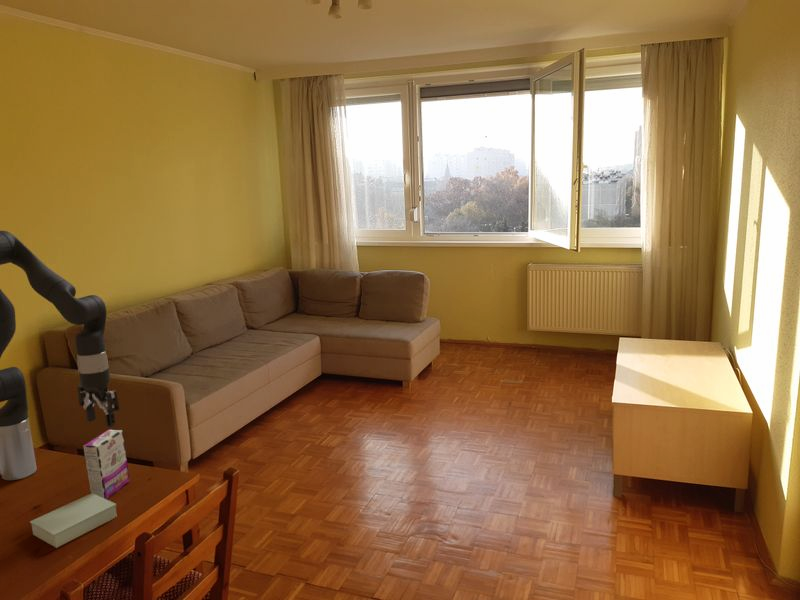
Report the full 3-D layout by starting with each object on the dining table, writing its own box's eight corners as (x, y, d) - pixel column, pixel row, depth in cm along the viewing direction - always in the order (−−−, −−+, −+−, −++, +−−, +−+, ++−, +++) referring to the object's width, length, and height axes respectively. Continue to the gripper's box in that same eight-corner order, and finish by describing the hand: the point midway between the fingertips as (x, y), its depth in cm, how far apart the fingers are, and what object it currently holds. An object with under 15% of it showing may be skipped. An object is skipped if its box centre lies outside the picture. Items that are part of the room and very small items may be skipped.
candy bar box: (115, 480, 183) (108, 428, 180) (130, 481, 182) (123, 429, 178) (89, 499, 172) (81, 445, 169) (105, 501, 171) (98, 446, 168)
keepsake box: (56, 550, 150) (53, 534, 149) (32, 536, 156) (29, 521, 155) (118, 518, 163) (116, 503, 162) (93, 506, 169) (91, 492, 169)
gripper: (64, 368, 170) (73, 424, 173) (97, 375, 163) (105, 432, 166) (89, 361, 176) (97, 414, 179) (122, 367, 169) (129, 422, 172)
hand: (101, 423), depth 173 cm, fingers open, 8 cm apart
